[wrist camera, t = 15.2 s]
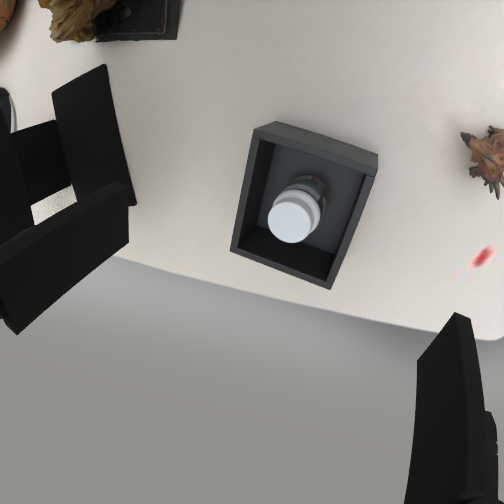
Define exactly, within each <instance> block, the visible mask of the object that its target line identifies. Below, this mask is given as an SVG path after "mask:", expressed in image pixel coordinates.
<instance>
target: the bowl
mask: <svg viewBox="0 0 504 504" xmlns="http://www.w3.org/2000/svg"><path fill="white" fill-rule="evenodd" d="M15 4H16V0H0V32H1V30H2V29H3V28H4V27H5V26H6V25H7V24H8V22H9V21H10V19H11V17H12V15H13V12H14V8H15Z"/></svg>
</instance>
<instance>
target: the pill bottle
mask: <svg viewBox="0 0 504 504" xmlns="http://www.w3.org/2000/svg"><path fill="white" fill-rule="evenodd" d="M328 200H329V193H328V190H327V187H326V186H325V184H324V183H323V182H322V181H321V180H320V179H318V178H317V177H315V176H312V175H301V176H298V177H296V178H295V179H294V180H292V181H291V183H290V184H289V185H288V186H287V187H286V188H285V189H284V190H283V191H282V192H281V193H280V194H279V195H278V197H277V198H276V199H275V201H274V203H273V206H272V209H271V210H270V212H269V215H268V225H269V228H270V230H271V232H272V233H273V234H274V235H275V236H276V237H277V238H278V239H280V240H282V241H284V242H288V243H296V242H299V241H302V240H303V239H305V238H306V237H307V236H308V234H310V233H311V232H312V231H314V230H315V228H316V227H317V226H318V224H319V222H320V220H321V217H322V215H323V213H324V211H325V208H326V206H327V204H328Z"/></svg>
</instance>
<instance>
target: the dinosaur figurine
mask: <svg viewBox="0 0 504 504" xmlns="http://www.w3.org/2000/svg"><path fill="white" fill-rule="evenodd" d="M489 127H490V129H491V130H488V132H489V133H490V135H489V137H490V140H489V139H488V137H487V136H486V137H485V138H484V139H483V140H479V139H478V138H476V137H475V136H474V135H471V134H469V133H463V132H461V133H460V134H461V137H462V139H463V141H464V142H465V144H466V146H467V147H468V148H469V149H470V150H472V153H473V155H472V157H471V160H470V161H473V162H479V163H480V165H479V166H478V167H473V168H470V169H469V171H470V175H472V177H473V178H475V177H476V176H477V175H478V177H479V176H481V177H482V178H483V180H485V183H484V186H486V185H487V184H488V183H489V188H490V193H492V192H493V187H494V188H495V193H496V198H497V199H498V200H499V195H500V188H499V182H500V183H501V184H502V185H503V187H504V177H503V171H504V130H500V131H499V129H497V128H495V129H494V128H493V127H492V126H489Z"/></svg>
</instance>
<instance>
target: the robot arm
mask: <svg viewBox="0 0 504 504" xmlns="http://www.w3.org/2000/svg"><path fill="white" fill-rule="evenodd" d="M128 198H129V186H127V185H124V184H121V183H119V182H116V181H115V182H113V183H111V184H109V185H107V186H105V187H103V188H101V189H99V190H97V191H95V192H94V193H92V194H90V195H88V196H86V197H84V198H82V199H81V200H79V201H77V202H75V203H73V204H72V205H70V206H68V207H66V208H65V209H63V210H61V211H59V212H58V213H56V214H54V215H53V216H51V217H49V218H48V219H46V220H44V221H43V222H41V223H39V224H38V225H35V226H32V227H29V228H27V229H25V230H23V231H22V232H20V233H19V234H17V235H16V237H12V238H11V239H9V240H8V242H5V243H3V244H2V245H0V313H1V315H2V318H3V320H4V322H5V324H6V325H7V326H8V327H9V328H10V329H11V330H12V331H13V332H14V333H15V334H16V335H18V334H19V333H20V332H21V331H23V330H24V329H25V328H26V327H27V326H28V325H29V324H30V323H31V322H32V321H34V320H35V319H36V318H37V317H38V316H39V315H41V314H42V313H43V312H44V311H45V310H46V309H47V308H49V307H50V306H51V305H52V304H53V303H54V302H56V301H57V300H58V299H59V298H60V297H61V296H62V295H64V294H65V293H66V292H67V291H68V290H70V289H71V288H72V287H73V286H75V285H76V284H77V283H78V282H79V281H81V280H82V279H83V278H84V277H86V276H87V275H88V274H89V273H91V272H92V271H93V270H94V269H96V268H97V267H98V266H99V265H101V264H102V263H103V262H104V261H106V260H107V259H108V258H109V257H111V256H112V255H113V254H115V253H116V252H117V251H118V250H120V249H121V248H122V247H124V246H125V245H126V244H128V243H129V224H128ZM478 361H479V360H478V355H477V349H476V343H475V338H474V333H473V328H472V324H471V319H470V318H468V317H465V316H463V315H461V314H458V313H456V312H454V314H453V315H452V316H451V318H450V319H449V320H448V322H447V323H446V325H445V326H444V327H443V329H442V330H441V331H440V333H439V334H438V335H437V336H436V338H435V339H434V341H433V342H432V343H431V344H430V345H429V347H428V348H427V349H426V350H425V352H424V353H423V354H422V355H421V356H420V358H419V359H418V360H417V389H416V390H417V391H416V410H415V423H414V436H413V445H412V454H411V462H410V469H409V477H408V483H407V489H406V495H405V500H404V504H504V503H503V502H502V501H500V500H498V455H497V453H498V446H497V444H496V442H497V431H496V430H497V429H496V424H495V422H494V419H493V416H492V414H491V412H488V411H485V408H484V397H483V388H482V381H481V373H480V367H479V362H478Z"/></svg>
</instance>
